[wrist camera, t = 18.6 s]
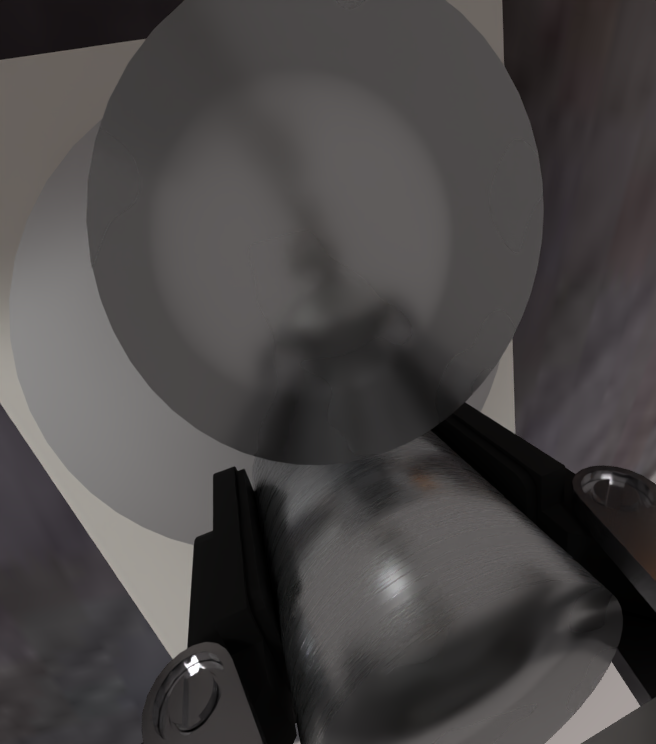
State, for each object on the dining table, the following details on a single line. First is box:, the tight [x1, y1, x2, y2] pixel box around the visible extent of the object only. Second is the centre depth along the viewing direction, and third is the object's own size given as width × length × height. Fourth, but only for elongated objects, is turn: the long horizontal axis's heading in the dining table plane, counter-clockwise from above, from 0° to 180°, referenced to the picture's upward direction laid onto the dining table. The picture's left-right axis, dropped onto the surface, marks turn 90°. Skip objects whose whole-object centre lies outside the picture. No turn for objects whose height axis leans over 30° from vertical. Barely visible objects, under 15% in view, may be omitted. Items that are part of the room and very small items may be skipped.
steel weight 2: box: [252, 430, 623, 744], centre depth 8 cm, size 5×5×6 cm
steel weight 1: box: [86, 0, 544, 465], centre depth 7 cm, size 5×5×6 cm
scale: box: [0, 0, 515, 659], centre depth 14 cm, size 22×16×4 cm
